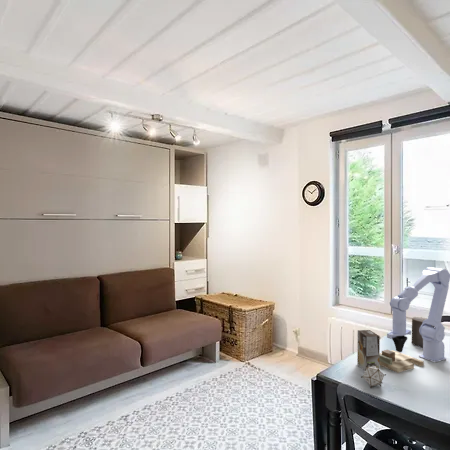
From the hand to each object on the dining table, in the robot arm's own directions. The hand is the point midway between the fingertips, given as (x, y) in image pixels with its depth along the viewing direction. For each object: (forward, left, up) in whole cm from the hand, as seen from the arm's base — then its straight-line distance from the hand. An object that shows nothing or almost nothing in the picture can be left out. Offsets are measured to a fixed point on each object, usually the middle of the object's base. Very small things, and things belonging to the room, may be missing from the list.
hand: (399, 351), depth 165 cm
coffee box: (+20, -1, -5) cm, 20 cm away
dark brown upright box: (-33, -11, -5) cm, 35 cm away
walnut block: (+8, 0, -3) cm, 8 cm away
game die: (+32, +12, -5) cm, 34 cm away
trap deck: (+3, 0, -5) cm, 6 cm away
